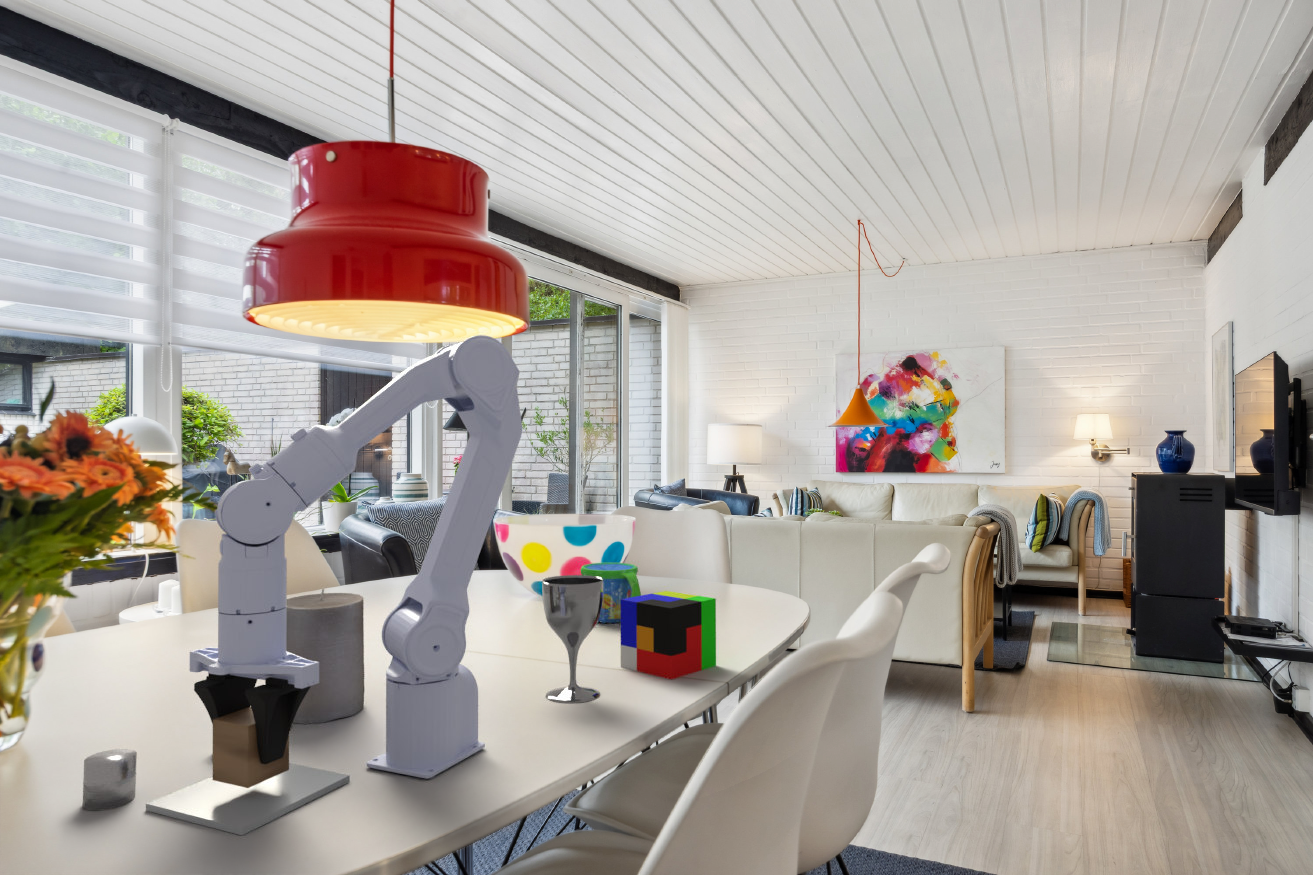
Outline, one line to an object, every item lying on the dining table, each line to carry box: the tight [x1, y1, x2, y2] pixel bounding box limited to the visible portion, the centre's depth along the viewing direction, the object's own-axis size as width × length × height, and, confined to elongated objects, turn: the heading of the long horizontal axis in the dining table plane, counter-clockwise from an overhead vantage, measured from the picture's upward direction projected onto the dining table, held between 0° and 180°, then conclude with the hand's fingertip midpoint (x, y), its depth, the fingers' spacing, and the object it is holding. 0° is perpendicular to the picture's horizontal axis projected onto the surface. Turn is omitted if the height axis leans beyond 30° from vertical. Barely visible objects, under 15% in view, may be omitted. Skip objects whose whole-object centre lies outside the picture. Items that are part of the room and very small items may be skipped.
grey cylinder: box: [82, 748, 138, 812], centre depth 74 cm, size 4×4×4 cm
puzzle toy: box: [620, 590, 717, 680], centre depth 121 cm, size 10×10×10 cm
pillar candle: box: [286, 588, 365, 725], centre depth 100 cm, size 10×10×15 cm
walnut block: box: [212, 706, 290, 788], centre depth 75 cm, size 4×4×6 cm
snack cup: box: [580, 562, 642, 624], centre depth 154 cm, size 16×10×10 cm
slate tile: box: [145, 762, 351, 836], centre depth 75 cm, size 12×12×1 cm
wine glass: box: [541, 574, 603, 704], centre depth 107 cm, size 8×8×15 cm
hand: (252, 756), depth 75 cm, fingers closed on walnut block, 4 cm apart
